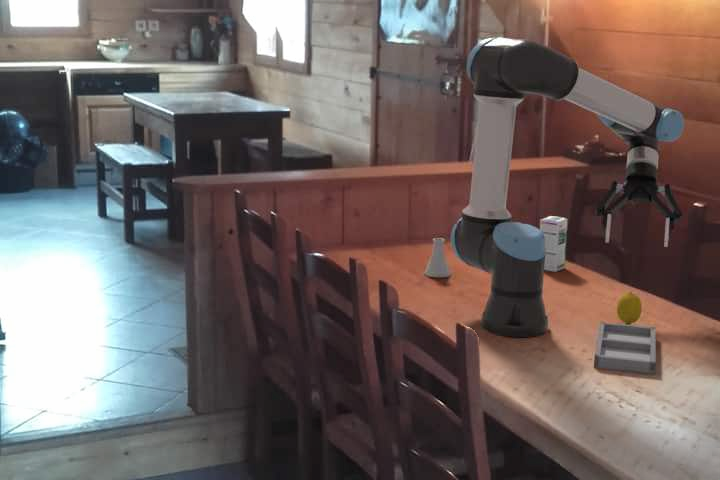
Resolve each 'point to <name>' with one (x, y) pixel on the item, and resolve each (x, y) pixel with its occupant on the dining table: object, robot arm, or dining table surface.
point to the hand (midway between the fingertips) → (636, 242)
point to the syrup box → (554, 242)
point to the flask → (437, 261)
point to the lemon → (629, 308)
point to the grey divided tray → (626, 348)
